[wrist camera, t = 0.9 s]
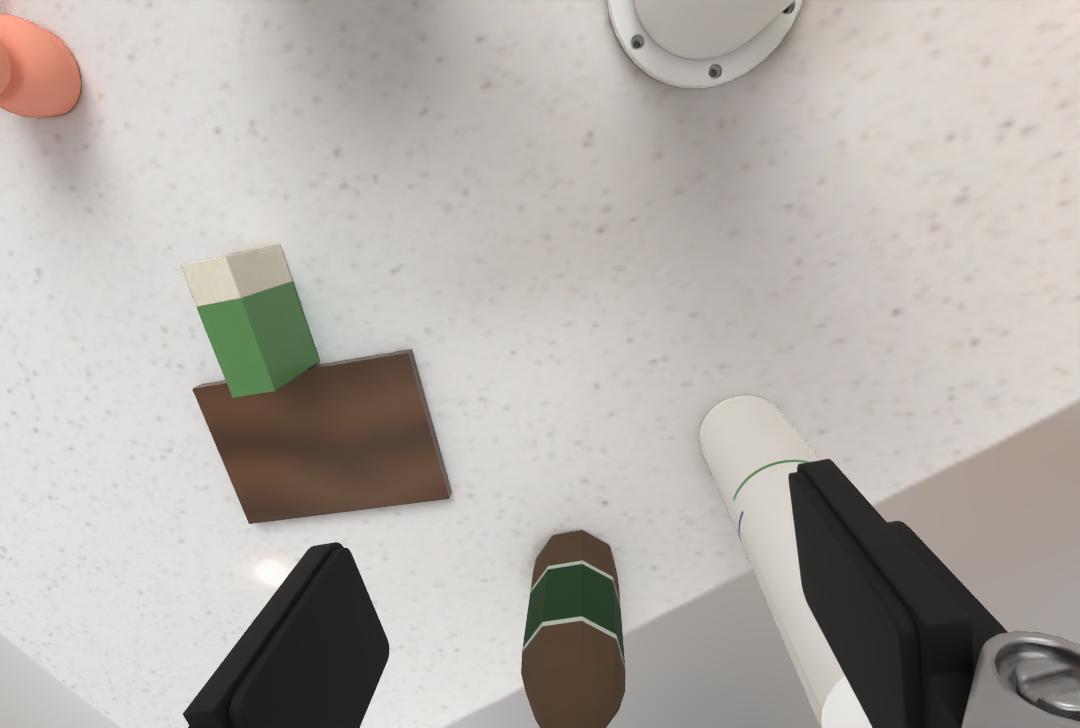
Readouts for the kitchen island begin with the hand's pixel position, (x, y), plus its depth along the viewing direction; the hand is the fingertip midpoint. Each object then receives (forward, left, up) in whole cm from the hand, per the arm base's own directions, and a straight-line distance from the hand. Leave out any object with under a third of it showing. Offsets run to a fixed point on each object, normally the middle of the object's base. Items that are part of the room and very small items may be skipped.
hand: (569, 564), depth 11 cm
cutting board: (+10, -25, -33) cm, 42 cm away
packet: (-2, -25, -33) cm, 41 cm away
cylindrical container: (+15, +11, -33) cm, 38 cm away
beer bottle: (+26, -5, -33) cm, 42 cm away
